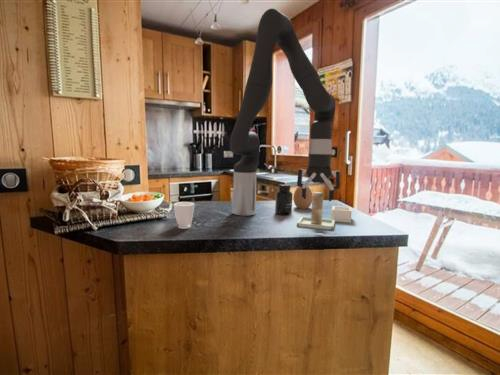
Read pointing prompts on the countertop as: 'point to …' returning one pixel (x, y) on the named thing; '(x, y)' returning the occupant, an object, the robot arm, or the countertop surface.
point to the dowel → (317, 208)
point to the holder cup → (341, 214)
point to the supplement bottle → (283, 200)
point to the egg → (302, 198)
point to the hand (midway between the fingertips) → (317, 199)
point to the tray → (326, 224)
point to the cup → (184, 214)
